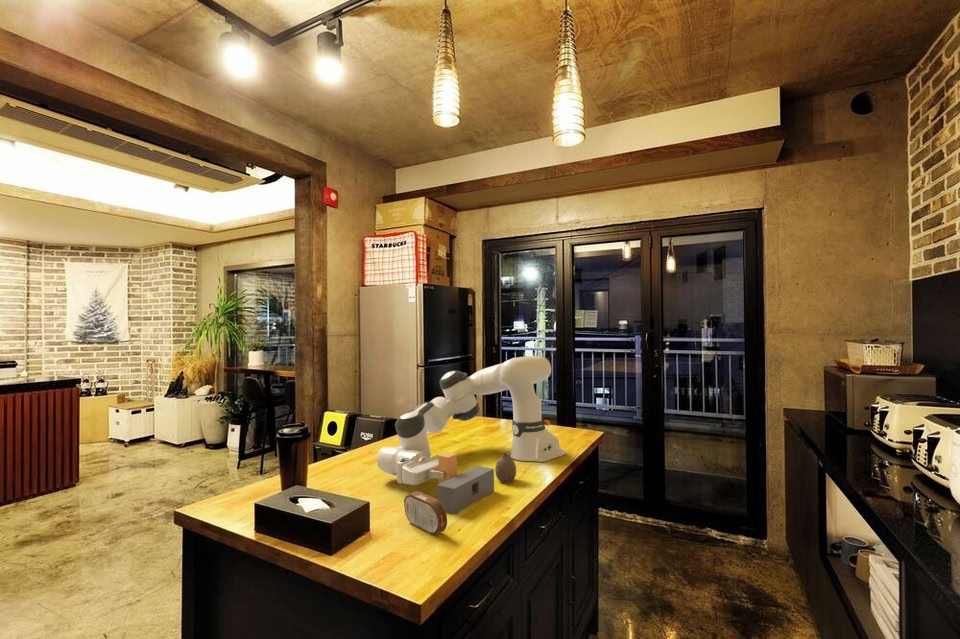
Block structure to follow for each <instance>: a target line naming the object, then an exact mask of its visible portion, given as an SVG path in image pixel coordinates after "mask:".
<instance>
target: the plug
mask: <svg viewBox="0 0 960 639" xmlns="http://www.w3.org/2000/svg"><path fill="white" fill-rule="evenodd" d="M437 455H438V466H439V471H445V472H446V477H445V478H443V479H441V478H438V484H440V483H442V482H444V481H446V480H448V479H451V478H453V477H455V476H457V475H458V454H457V453H454V452H448V451H447V452H443V453H442V454H437Z"/></svg>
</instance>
